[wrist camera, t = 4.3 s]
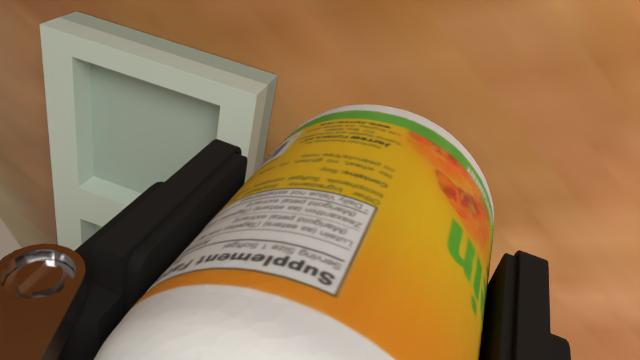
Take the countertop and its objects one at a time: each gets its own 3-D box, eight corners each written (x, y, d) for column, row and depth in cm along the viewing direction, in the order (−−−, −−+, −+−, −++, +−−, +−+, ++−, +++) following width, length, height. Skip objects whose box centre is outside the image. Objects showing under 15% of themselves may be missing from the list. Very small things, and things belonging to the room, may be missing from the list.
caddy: (76, 11, 25) (39, 24, 23) (277, 75, 24) (257, 95, 22) (88, 287, 35) (63, 312, 33) (231, 343, 33) (214, 373, 31)
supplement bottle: (496, 303, 13) (437, 958, 5) (294, 282, 15) (30, 742, 7) (496, 93, 11) (386, 738, 3) (255, 100, 13) (-209, 497, 5)
